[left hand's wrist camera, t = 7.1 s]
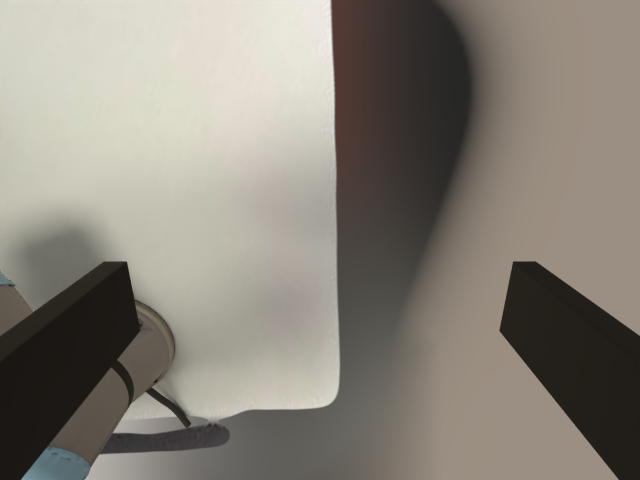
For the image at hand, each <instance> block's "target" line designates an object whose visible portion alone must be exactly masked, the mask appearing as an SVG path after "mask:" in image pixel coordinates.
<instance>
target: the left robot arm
mask: <svg viewBox="0 0 640 480" xmlns="http://www.w3.org/2000/svg"><path fill="white" fill-rule="evenodd" d="M14 286H15V284H14V283H13V282H12V281H10V280H8V279H7V278H6V277H5V276H4V275H3V274H2V273H1V271H0V480H84V479H85V478H86V477H87V476H88V474H89V471H90V468H91V466H92V465H93V463H94V462H95V460H96V458H97V457H98V455H99V454H100V452H101V450H102V449H103V447H104V446H105V444H106V442H107V441H108V439H109V438H110V436H111V435H112V433H113V431H114V430H115V428H116V427H117V425H118V423H119V422H120V420H121V419H122V417H123V415H124V414H125V412H126V411H127V409H128V408H129V406H130V404H131V403H132V402H133V401H135V400H136V399H137V398H139V397H140V396H141V395H142V394H143V393H144V392H147V393H148V394H149V395H151V396H152V397H153V398H155V399H156V400H157V401H159V402H160V403H162V404H163V405H165V406H166V407H168V408H169V409H170V410H171V411H172V412H173V413H174V414H175V415H176V416H177V417H178V418H179V419H180V421H181V422H182V423H183V424H184V426H185V427H186V428H187V427H189V426H190V425H191V423H190V421H189V420H188V419H187V418H186V416H185V415H184V414H183V412H182V411H181V410H180V409H179V408H178V407H177V406H176V405H175V404H174V403H172V402H171V401H169V400H168V399H166V398H165V397H164V396H162V395H161V394H160V393H158V392H157V391H156V390H154V389H153V388H152V386H154V385H155V384H156V383H158V382H159V381H160V380H161V379H162V378H163V376H164V375H165V373H166V371H167V370H168V368H169V366H170V365H171V362H172V360H173V357H174V341H173V337H172V334H171V332H170V330H169V328H168V326H167V325H166V323H165V322H164V321H163V320H162V319H161V317H160V316H159V315H157V314H156V313H155V312H154V311H153V310H151V309H150V308H148V307H147V306H145V305H143V304H141V303H139V302H137V301H135V300H134V295H133V290H132V285H131V280H130V275H129V270H128V265H127V262H103V263H102V264H100V265H99V266H97V267H96V268H95V269H93V270H92V271H90V272H89V273H88V274H86V275H85V276H83V277H82V278H81V279H79V280H78V281H76V282H75V283H74V284H72V285H71V286H69V287H68V288H67V289H65V290H64V291H62V292H61V293H60V294H58V295H57V296H55V297H54V298H53V299H51V300H50V301H48V302H47V303H46V304H44V305H43V306H41V307H40V308H39V309H37V310H36V311H34V312H33V311H32V310H31V308H30V307H29V306H28V304H27V303H26V302H25V300H24V299H23V298H22V296H21V295H20V294H19V293H18V291H17V290H16V289H15V287H14ZM500 332H501V333H502V335H503V336H504V337H505V338H506V340H507V341H508V342H509V343H510V345H511V346H512V347H513V348H514V349H515V351H516V352H517V353H518V355H519V356H520V357H521V358H522V360H523V361H524V362H525V363H526V364H527V366H528V367H529V368H530V369H531V371H532V372H533V373H534V375H535V376H536V377H537V378H538V379H539V381H540V382H541V383H542V384H543V386H544V387H545V388H546V389H547V391H548V392H549V393H550V394H551V396H552V397H553V398H554V399H555V401H556V402H557V403H558V404H559V406H560V407H561V408H562V409H563V411H564V412H565V413H566V414H567V416H568V417H569V418H570V419H571V421H572V422H573V423H574V424H575V426H576V427H577V428H578V429H579V430H580V432H581V433H582V434H583V436H584V437H585V438H586V439H587V441H588V442H589V443H590V444H591V446H592V447H593V448H594V449H595V451H596V452H597V453H598V454H599V455H600V457H601V458H602V459H603V460H604V462H605V463H606V464H607V465H608V467H609V468H610V469H611V470H612V472H613V473H614V474H615V475H616V477H617V478H618V479H619V480H640V336H639V335H638V334H636V333H635V332H634V331H632V330H631V329H629V328H628V327H627V326H625V325H624V324H622V323H621V322H620V321H618V320H617V319H615V318H614V317H613V316H611V315H610V314H608V313H607V312H606V311H604V310H603V309H601V308H600V307H599V306H597V305H596V304H594V303H593V302H591V301H590V300H589V299H587V298H586V297H585V296H583V295H582V294H580V293H579V292H578V291H576V290H575V289H573V288H572V287H571V286H569V285H568V284H566V283H565V282H564V281H562V280H561V279H559V278H558V277H557V276H555V275H554V274H552V273H551V272H550V271H548V270H547V269H545V268H544V267H543V266H541V265H540V264H538V263H537V262H513V265H512V270H511V275H510V280H509V285H508V290H507V295H506V300H505V305H504V310H503V315H502V321H501V326H500Z"/></svg>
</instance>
